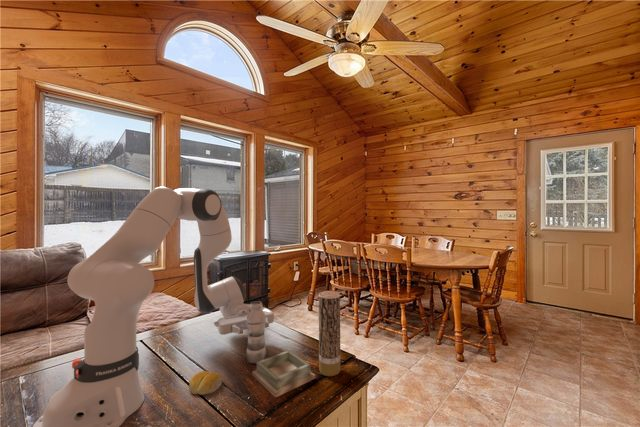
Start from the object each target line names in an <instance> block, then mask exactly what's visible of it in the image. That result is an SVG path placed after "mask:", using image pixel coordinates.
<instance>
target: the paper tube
mask: <svg viewBox="0 0 640 427" xmlns="http://www.w3.org/2000/svg"><path fill="white" fill-rule="evenodd" d="M318 362H319V363H318V368H319V372H320V374H321V375H323V376H325V377H334V376H335V377H336V376H337V375H339V373H340V372H341V293H340V292H339V291H334V290H323V291H320V292H319V293H318Z"/></svg>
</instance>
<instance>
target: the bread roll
mask: <svg viewBox="0 0 640 427" xmlns="http://www.w3.org/2000/svg"><path fill="white" fill-rule="evenodd" d="M188 384H189V385H188V388H189V392H190V393H192V394H194V395H197V394H198V395H200V396H204V395H209V394H213V393H215V392H216V391H217V390H219V388H220V387H221V386H222V384H223V377H222V375H221V374H220V373H218V372H215V371H212V372H211V371H209V370H201V371H199V372H197V373H195V374H194V375H193V376H192V377H191V378H190V381H189V383H188Z"/></svg>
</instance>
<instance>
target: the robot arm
mask: <svg viewBox="0 0 640 427" xmlns="http://www.w3.org/2000/svg"><path fill="white" fill-rule="evenodd" d="M176 220H184V221H185V220H186V221H190V222H193V221H194V222H195V221H196V223H197V226H198V227H197V228H198V232H199V239H200V240H199V243H198V246H197V248H196V249H194V253H193V277H194V278H193V279H194V297H193V298H194V305H195V308H196V309H197V311H198V312H199V313H203V314H210V313H212V312H214V311H216V310H217V309H219V311H220V313H221V315H222V317H220V318H219V319H218V320H217V321H214V323H213V325H214V326H215V327H217V330H218V333H219V334H220V335H222V336H223V335H228V334H233V333H235V334H238V335H242V334H244V331H245V330H248V328H247V321H246V319H247V316H248V314H249V313H250V311H251V309H250V304H249V303H244V302H245V300H246V296H247V295H246V294H247V293H246V288H245V287H244V284H243V282H242V281H241V280H240V279H239V278H237V277H235V276H230V277H226V278H224V279H222V280H219V281H216V282H215V283H214V282H213V283H211V284H208V267H209V265H210V264H211V263H212V262H213V261H214V260H215V259H216V258H217V257H218V256H220V255H221V254H223V253H224V252H225V251H226V250H227V249H228V248H229V247H230V245H231V243H232V230H231V226H230V225H231V224H230V221H229V218H228V214H227V212H226V210H225V207H224V206H223V204H222V200H221V198H220V196H219V194H218V193H217V192H216V191H214V190H213V189H210V188H209V189H208V188H197V187H196V188H195V187H193V188H192V187H184V188H170V187H166V186H158V187H155V188H153V189H151V191H150V192H148V194H146V195H145V196H144V197H143V199H141V200H140V202H139V203H138V204H137V205H136V207H135V208H134V209H133V210H132V211H131V212H130V214H129V215H128V217H127V218H126V220H125V221H124V222H123V223H122V225H121V226H120V227H119V229H117V231H116V232H115V233H114V234H113V235H112V236H111V238H109V239H108V240H106V242H105V243H103V244H102V245H101V246H100V247H99V248H98V249H97V250H96V251H95V252H93V253H92V254H91V255H89V257H87V258H85V259H84V260H82V261H80V262H78V263H76V264H75V265H74V266H73V267H72V268H71V269H70V271H69V273H68V276H67V285H68V288H69V289H70V290H71V291H72V292H73V293H74V294H75V295H77V296H78V297H80V298H82V299H85V300H90V301H93V302H94V306H95V307H94V312H93V317H92V319H91V321H90V322H89V323H88V324H87V326H86V327H85V329H84V331H83V339H84V340H83V344H84V345H83V347H84V348H83V350H84V352H83V353H84V358H83V359H81V358H79V357H78V358H75V359H73V361H72V363H71V368H72V369H73V378H72V379H71V380H70V381H68V382H67V383H65V385H64V386H63V387H61V388H60V389H59V390H57V391H56V392H55V393H54V394H53V395H52V396H51V398H50V399H49V400H48V402H47V404H46V407H45V409H44V412H43V414H42V415H41V416H40V417H39V418H38V419H37V420H36V421H35V422H34V424H33V426H32V427H121V425H123V424H124V422H125V420H127V418H128V417H129V416H131V415H132V414H133V413H135V412H136V411H137V410H139V409H140V407H141V406H142V405H143V403H144V401H145V395H144V392H143V388H142V386H141V382H140V377H139V366H140V351H139V347H138V346H137V325H138V317H139V312H140V310H141V307H142V304H143V302H145V301H146V300H147V299H148V298H149V296H150V295H151V294H152V292H153V290H154V286H155V278H154V277H155V276H154V274H153V272H152V271H151V270H150V269H149V267H146V266H144V265H142V264H140V263H141V262H142V261H143V260H144V259H146V258H147V257H149V256H151V255H153V254H155V253H156V251H157V250H158V249H159V247H161V244H162V243H163V241H164V240H165V239H166V236H167V235H168V233H169V232H170V230H171V229H172V227H173V225H174V224H175V222H176ZM261 310H262V311H263V312H264V314H265V316H266V322H265V329H266V328H269V327H270V324H273V323H274V322H275V313H274V312H273V311H272V310H271V309H269V308H267V307H265V306H263V304H262V308H261ZM40 421H41V422H40Z"/></svg>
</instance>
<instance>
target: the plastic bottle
mask: <svg viewBox="0 0 640 427" xmlns="http://www.w3.org/2000/svg"><path fill="white" fill-rule="evenodd" d="M262 305H263V303H262V301H260V300H259V301H258V300H257V301H251V302H250V309H251V311H250V313H249V314H248V316H247V319H246V321H247V328H248V329H247V348H246V352H245V353H246V354H245V356H246V360H247V362H249V363H250V364H257V362H259V361H261V360H264V359H266V354H267V348H266V342H265V330H266V328H265V322H266V316H265V314H264V312H263V311H262V310H261V308H262Z"/></svg>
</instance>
